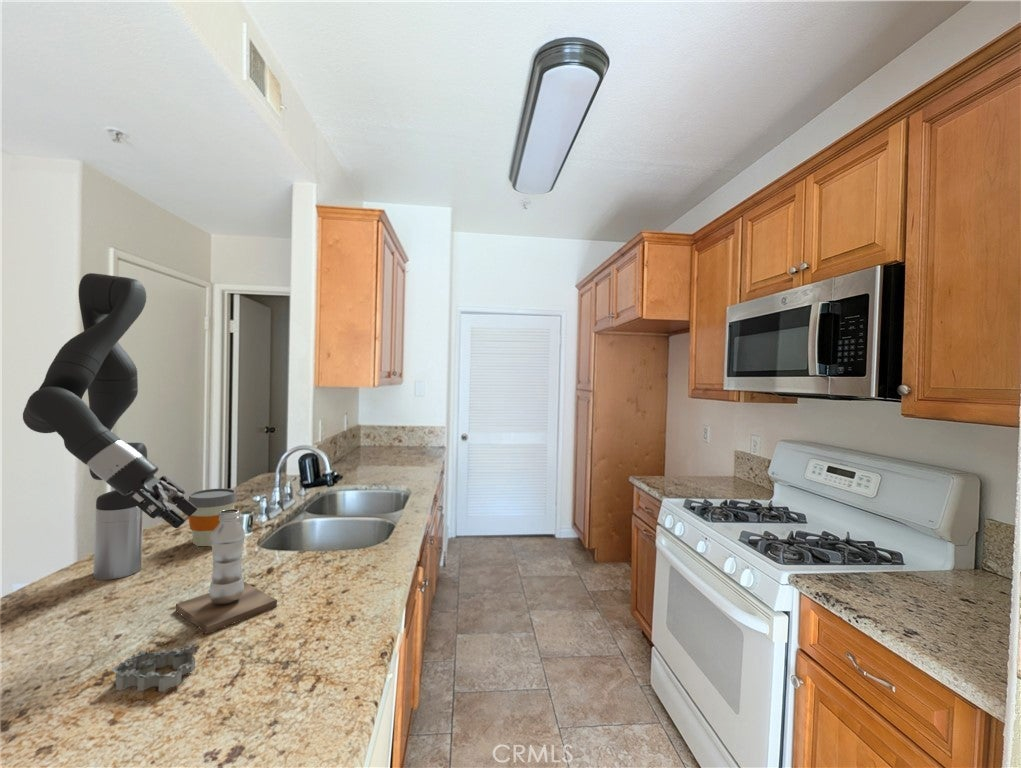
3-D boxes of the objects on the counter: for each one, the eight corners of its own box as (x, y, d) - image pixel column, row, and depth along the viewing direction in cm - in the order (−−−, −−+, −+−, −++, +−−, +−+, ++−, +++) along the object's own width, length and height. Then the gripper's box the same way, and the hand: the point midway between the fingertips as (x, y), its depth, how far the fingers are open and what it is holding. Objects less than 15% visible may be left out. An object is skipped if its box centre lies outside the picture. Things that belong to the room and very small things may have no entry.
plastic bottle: (226, 610, 95) (230, 517, 95) (200, 606, 96) (203, 513, 96) (250, 596, 101) (253, 508, 101) (225, 592, 102) (228, 506, 102)
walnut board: (175, 610, 97) (175, 603, 97) (243, 587, 108) (243, 581, 108) (207, 634, 88) (207, 626, 88) (276, 606, 100) (276, 599, 100)
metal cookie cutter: (202, 667, 79) (203, 644, 79) (168, 696, 72) (169, 671, 72) (144, 662, 80) (145, 640, 80) (104, 691, 72) (105, 666, 72)
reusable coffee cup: (201, 534, 143) (203, 487, 143) (242, 534, 144) (244, 488, 144) (176, 549, 130) (178, 498, 130) (221, 549, 131) (223, 498, 131)
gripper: (125, 460, 86) (193, 515, 90) (152, 448, 99) (211, 496, 103) (88, 489, 84) (160, 543, 88) (121, 473, 97) (183, 521, 101)
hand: (188, 518), depth 96 cm, fingers open, 8 cm apart
